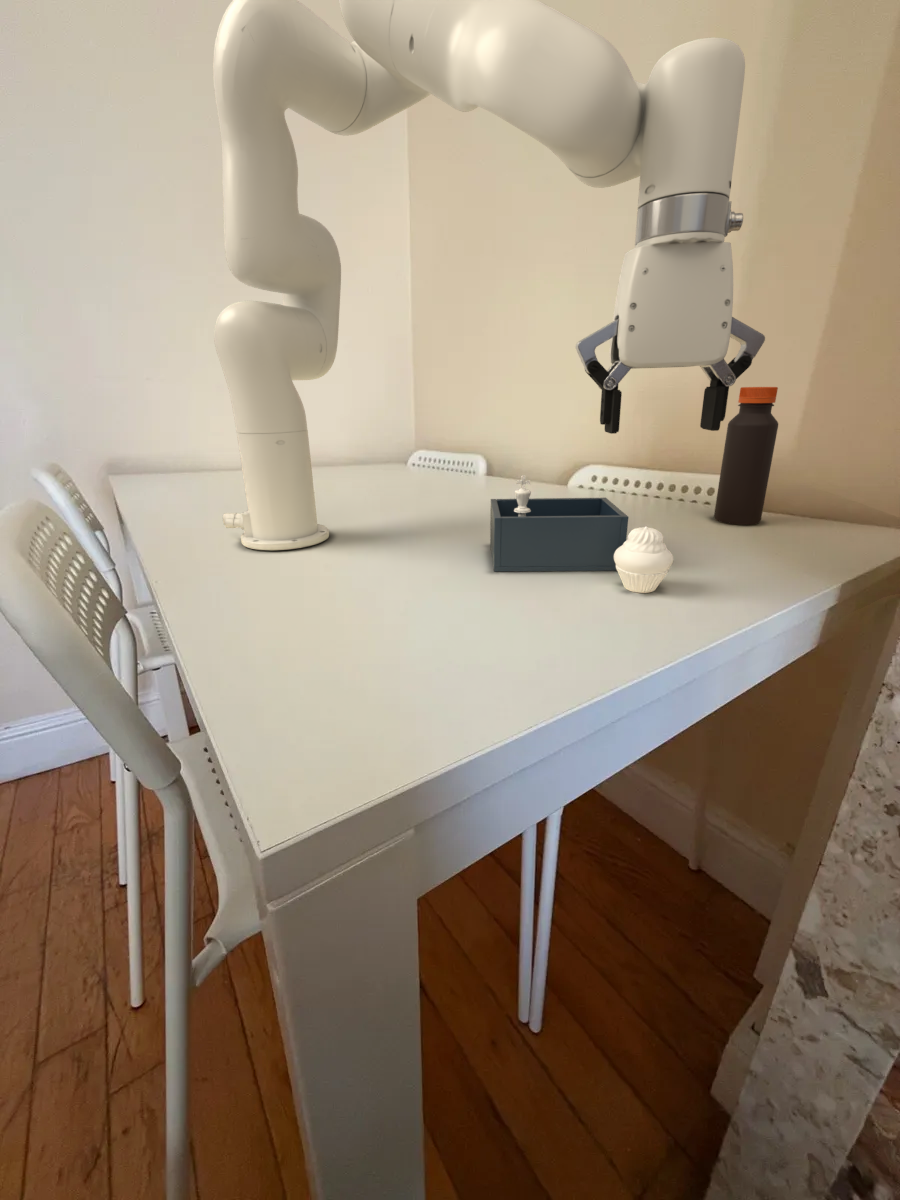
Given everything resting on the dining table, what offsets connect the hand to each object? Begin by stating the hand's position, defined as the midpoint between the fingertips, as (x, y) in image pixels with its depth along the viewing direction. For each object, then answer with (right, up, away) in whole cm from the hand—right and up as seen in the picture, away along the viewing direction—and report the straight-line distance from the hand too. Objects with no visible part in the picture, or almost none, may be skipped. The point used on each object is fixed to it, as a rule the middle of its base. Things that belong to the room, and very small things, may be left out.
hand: (660, 431), depth 57 cm
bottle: (+25, -4, +34) cm, 43 cm away
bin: (-8, -11, +18) cm, 22 cm away
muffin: (0, -16, +6) cm, 17 cm away
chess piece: (-12, -11, +18) cm, 24 cm away
